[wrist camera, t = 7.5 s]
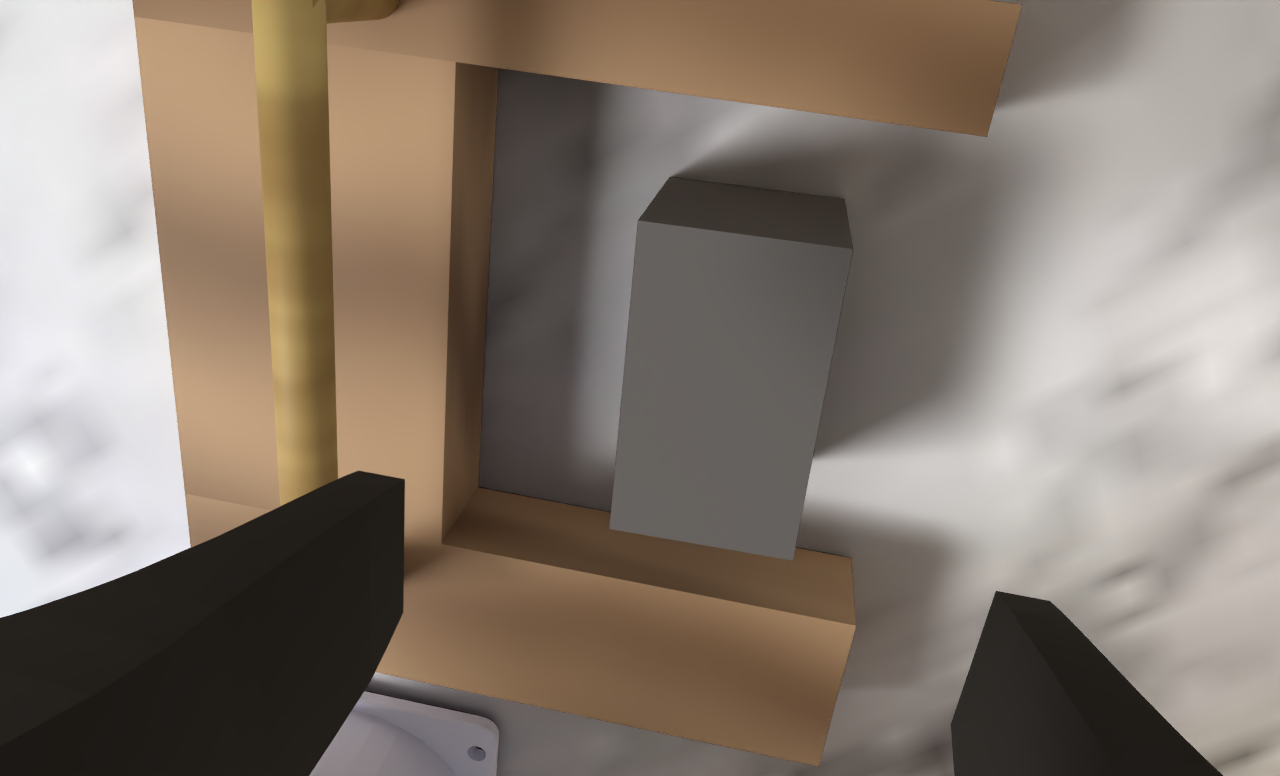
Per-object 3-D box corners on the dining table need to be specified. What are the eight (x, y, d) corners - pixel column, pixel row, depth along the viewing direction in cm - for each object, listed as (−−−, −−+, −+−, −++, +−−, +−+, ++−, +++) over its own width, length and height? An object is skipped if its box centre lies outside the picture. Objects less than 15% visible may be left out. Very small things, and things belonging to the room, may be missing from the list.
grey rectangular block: (795, 460, 21) (792, 560, 17) (643, 436, 21) (609, 528, 18) (844, 197, 18) (852, 249, 15) (670, 175, 19) (637, 220, 15)
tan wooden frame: (817, 689, 23) (820, 897, 18) (255, 574, 25) (106, 735, 19) (992, 1, 16) (1079, 9, 11) (207, -97, 18) (-41, -132, 13)
